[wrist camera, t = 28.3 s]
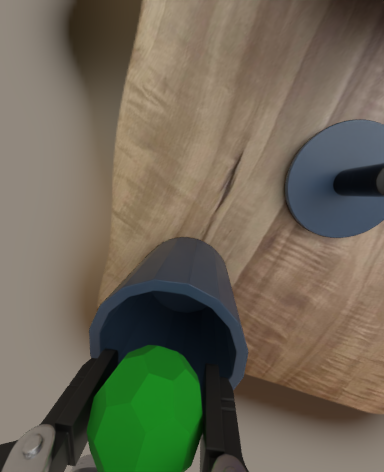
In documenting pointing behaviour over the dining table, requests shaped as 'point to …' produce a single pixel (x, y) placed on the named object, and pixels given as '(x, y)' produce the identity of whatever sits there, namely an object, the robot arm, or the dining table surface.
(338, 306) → the dining table surface
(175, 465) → the polyhedron
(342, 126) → the pot lid
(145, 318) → the pot
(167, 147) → the dining table surface
